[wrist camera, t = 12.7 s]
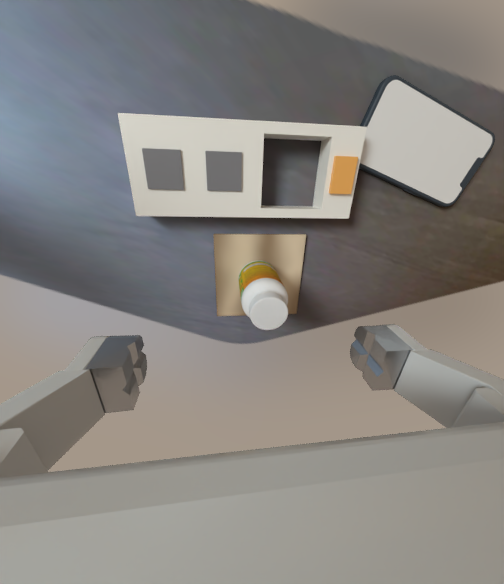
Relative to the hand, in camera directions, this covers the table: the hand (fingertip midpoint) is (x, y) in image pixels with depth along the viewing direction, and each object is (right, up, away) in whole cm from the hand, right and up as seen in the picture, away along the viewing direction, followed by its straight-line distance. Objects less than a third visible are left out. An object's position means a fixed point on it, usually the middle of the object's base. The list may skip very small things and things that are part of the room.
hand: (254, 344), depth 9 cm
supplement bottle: (+1, +4, +24) cm, 24 cm away
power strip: (-1, +16, +18) cm, 24 cm away
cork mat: (+1, +4, +24) cm, 25 cm away
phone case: (+20, +19, +20) cm, 34 cm away
